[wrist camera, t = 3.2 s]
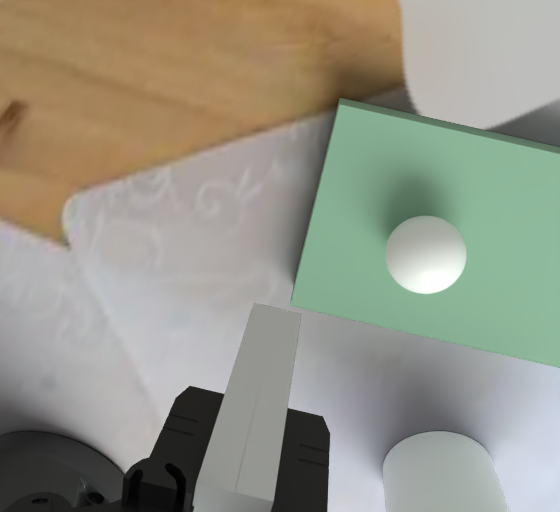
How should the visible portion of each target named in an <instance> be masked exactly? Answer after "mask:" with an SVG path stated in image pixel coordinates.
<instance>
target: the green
mask: <svg viewBox="0 0 560 512" xmlns="http://www.w3.org/2000/svg"><path fill="white" fill-rule="evenodd" d="M424 215H425V216H435V217H438V218H441V219H444V220H446V221H447V222H449V223H450V224H452V225H453V226H454V227H455V228H456V229H457V230H458V231H459V233H460V234H461V236H462V238H463V240H464V242H465V246H466V263H465V267H464V270H463V272H462V274H461V275H460V276H459V278H458V279H457V280H456V281H455V282H454V283H453V284H452V285H451V286H449V287H448V288H446V289H444V290H442V291H440V292H436V293H431V294H421V293H415V292H412V291H409V290H407V289H405V288H403V287H402V286H401V285H399V284H398V283H397V282H396V281H395V280H394V279H393V277H392V276H391V275H390V273H389V271H388V268H387V265H386V261H385V248H386V244H387V241H388V239H389V237H390V235H391V233H392V232H393V231H394V229H395V228H396V227H397V226H398V225H400V224H401V223H402V222H404V221H406V220H408V219H410V218H413V217H417V216H424ZM290 306H294V307H299V308H303V309H307V310H312V311H316V312H320V313H325V314H329V315H333V316H338V317H342V318H346V319H351V320H355V321H359V322H364V323H368V324H372V325H377V326H381V327H385V328H390V329H394V330H398V331H403V332H407V333H411V334H416V335H420V336H424V337H429V338H433V339H437V340H442V341H446V342H450V343H454V344H459V345H463V346H467V347H472V348H476V349H480V350H485V351H489V352H493V353H498V354H502V355H506V356H511V357H515V358H519V359H524V360H528V361H532V362H537V363H541V364H545V365H550V366H554V367H558V368H560V147H557V146H553V145H549V144H544V143H540V142H535V141H531V140H526V139H522V138H517V137H513V136H509V135H504V134H500V133H495V132H491V131H486V130H482V129H477V128H473V127H468V126H464V125H460V124H455V123H451V122H446V121H441V120H437V119H433V118H428V117H424V116H420V115H415V114H411V113H406V112H402V111H398V110H393V109H389V108H384V107H380V106H375V105H371V104H366V103H362V102H358V101H353V100H349V99H344V98H339V102H338V106H337V110H336V114H335V118H334V123H333V127H332V131H331V135H330V139H329V143H328V147H327V151H326V155H325V159H324V163H323V167H322V172H321V176H320V180H319V184H318V188H317V192H316V196H315V200H314V204H313V208H312V212H311V217H310V221H309V225H308V229H307V233H306V237H305V241H304V245H303V249H302V253H301V257H300V262H299V266H298V270H297V274H296V278H295V282H294V286H293V292H292V298H291V303H290Z"/></svg>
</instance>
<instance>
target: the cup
mask: <svg viewBox="0 0 560 512" xmlns="http://www.w3.org/2000/svg"><path fill="white" fill-rule="evenodd" d="M382 473H383V484H384V495H385V505H386V512H510V510H509V507H508V504H507V501H506V498H505V496H504V493H503V490H502V487H501V484H500V481H499V478H498V475H497V473H496V470H495V467H494V464H493V461H492V459H491V457H490V455H489V453H488V452H487V451H486V449H485V448H484V447H483V446H482V445H480V444H479V443H478V442H476V441H475V440H473V439H471V438H469V437H467V436H464V435H461V434H457V433H453V432H446V431H431V432H424V433H420V434H416V435H413V436H410V437H408V438H406V439H404V440H402V441H401V442H399V443H398V444H396V445H395V446H394V447H393V448H392V449H391V450H390V451H389V452H388V454H387V456H386V457H385V460H384V463H383V468H382Z"/></svg>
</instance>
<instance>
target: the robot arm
mask: <svg viewBox="0 0 560 512" xmlns="http://www.w3.org/2000/svg"><path fill="white" fill-rule="evenodd" d="M300 321H301V314H300V313H296V312H291V311H287V310H283V309H279V308H274V307H270V306H266V305H262V304H257V303H254V305H253V308H252V311H251V314H250V317H249V320H248V323H247V327H246V330H245V333H244V336H243V339H242V342H241V345H240V348H239V351H238V355H237V358H236V361H235V364H234V367H233V370H232V373H231V376H230V379H229V383H228V386H227V389H226V392H225V394H222V393H217V392H213V391H209V390H205V389H201V388H197V387H192V386H189V387H188V388H187V389H186V390H185V391H183V392H182V393H181V394H180V395H179V396H178V397H176V399H175V401H174V404H173V406H172V408H171V410H170V413H169V416H168V417H167V419H166V421H165V424H164V426H163V429H162V430H161V433H160V435H159V437H158V439H157V442H156V444H155V446H154V448H153V451H152V453H151V455H150V457H149V458H146V459H142V460H141V461H139V462H137V463H136V464H134V465H133V466H131V467H130V469H129V470H128V471H127V473H126V474H125V475H123V474H122V473H121V471H120V470H119V469H118V468H117V467H116V466H115V465H113V464H112V463H111V462H110V461H109V460H107V459H106V458H105V457H103V456H102V455H101V454H99V453H97V452H96V451H94V450H93V449H91V448H89V447H87V446H85V445H83V444H81V443H79V442H76V441H74V440H71V439H68V438H65V437H62V436H58V435H54V434H50V433H43V432H31V431H26V432H14V433H9V434H5V435H2V436H0V512H327V503H328V476H329V469H328V467H329V449H330V432H329V430H328V428H327V425H326V423H325V421H324V418H323V416H319V415H314V414H310V413H306V412H302V411H298V410H294V409H289V408H288V401H289V395H290V388H291V381H292V374H293V368H294V361H295V354H296V348H297V341H298V334H299V327H300Z"/></svg>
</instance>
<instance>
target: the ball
mask: <svg viewBox="0 0 560 512" xmlns="http://www.w3.org/2000/svg"><path fill="white" fill-rule="evenodd" d="M385 261H386V265H387V268H388V271H389V273H390V275H391V276H392V277H393V279H394V280H395V281H396V282H397V283H398V284H399V285H401V286H402V287H403V288H405V289H407V290H409V291H412V292H415V293H421V294H431V293H436V292H440V291H442V290H444V289H446V288H448V287H449V286H451V285H452V284H453V283H454V282H455V281H456V280H457V279H458V278H459V276H460V275H461V274H462V272H463V270H464V267H465V263H466V246H465V242H464V240H463V238H462V236H461V234H460V233H459V231H458V230H457V229H456V228H455V227H454V226H453V225H452V224H450V223H449V222H447V221H446V220H444V219H441V218H438V217H435V216H425V215H424V216H417V217H413V218H410V219H408V220H406V221H404V222H402V223H401V224H400V225H398V226H397V227H396V228H395V229H394V231H393V232H392V233H391V235H390V237H389V239H388V241H387V244H386V248H385Z"/></svg>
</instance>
